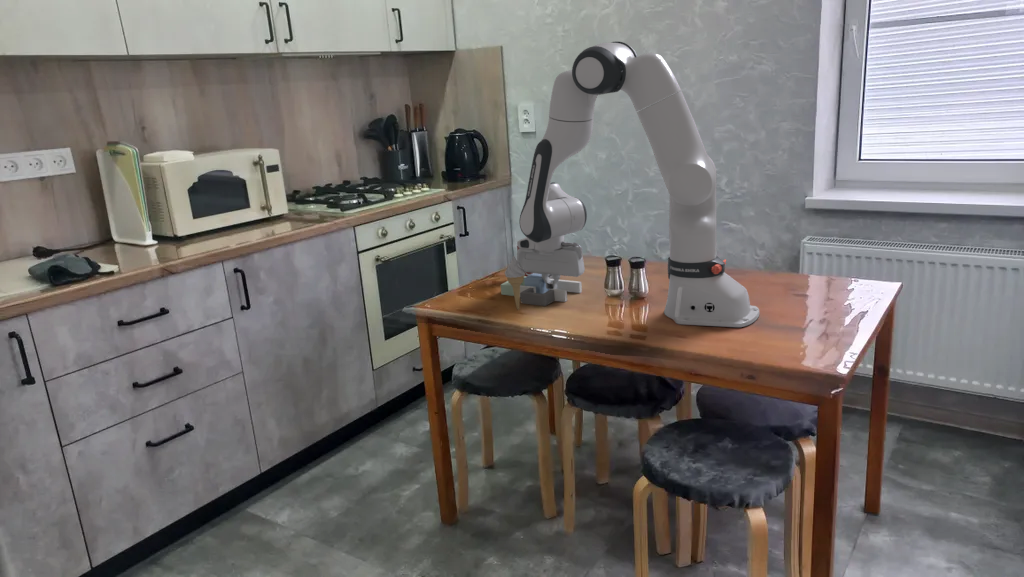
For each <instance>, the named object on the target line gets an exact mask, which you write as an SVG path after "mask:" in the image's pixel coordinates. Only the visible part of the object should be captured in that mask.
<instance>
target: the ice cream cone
mask: <svg viewBox="0 0 1024 577" xmlns="http://www.w3.org/2000/svg"><path fill="white" fill-rule="evenodd" d="M524 272H525V270H524V268H522V267H521V265H520V264H519V262H518V261H517V257H516V256H515V255H513V256H512V258H511V260H510V263H509V264H508V266H507V268H506V270H505V271H504V275H505V278H506V279H507V281H508V283H510V284H511V285H512V286H513V292H514V296H513V297H514V303H515V306H516V310H517V311H519V310H520V304H521V298H520V285H521V283H522V282H523V280H524V276H525V273H524Z"/></svg>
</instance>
